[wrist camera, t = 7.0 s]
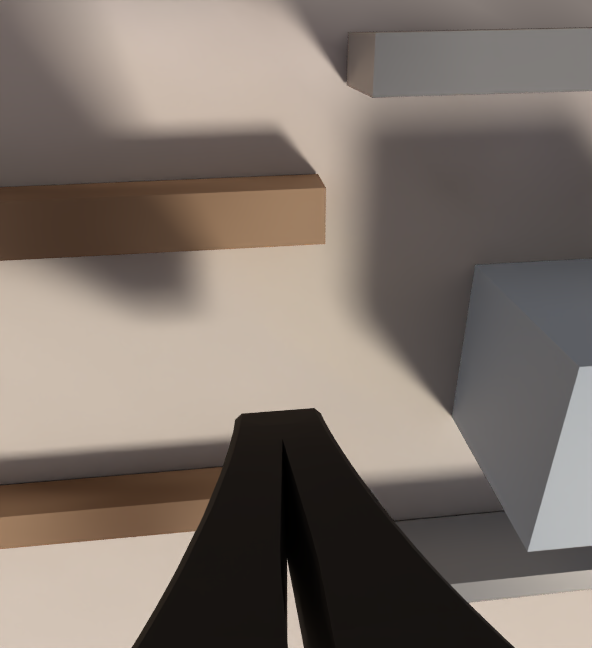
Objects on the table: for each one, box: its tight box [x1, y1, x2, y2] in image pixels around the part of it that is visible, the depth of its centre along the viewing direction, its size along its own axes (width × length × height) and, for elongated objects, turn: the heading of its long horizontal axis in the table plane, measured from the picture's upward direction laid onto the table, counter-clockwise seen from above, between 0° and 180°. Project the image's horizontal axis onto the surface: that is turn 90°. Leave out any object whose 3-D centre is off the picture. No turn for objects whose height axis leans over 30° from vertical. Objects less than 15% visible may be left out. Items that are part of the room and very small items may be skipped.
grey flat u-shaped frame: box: [347, 27, 592, 603], centre depth 11 cm, size 9×13×2 cm
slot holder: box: [0, 174, 326, 549], centre depth 11 cm, size 10×8×1 cm
